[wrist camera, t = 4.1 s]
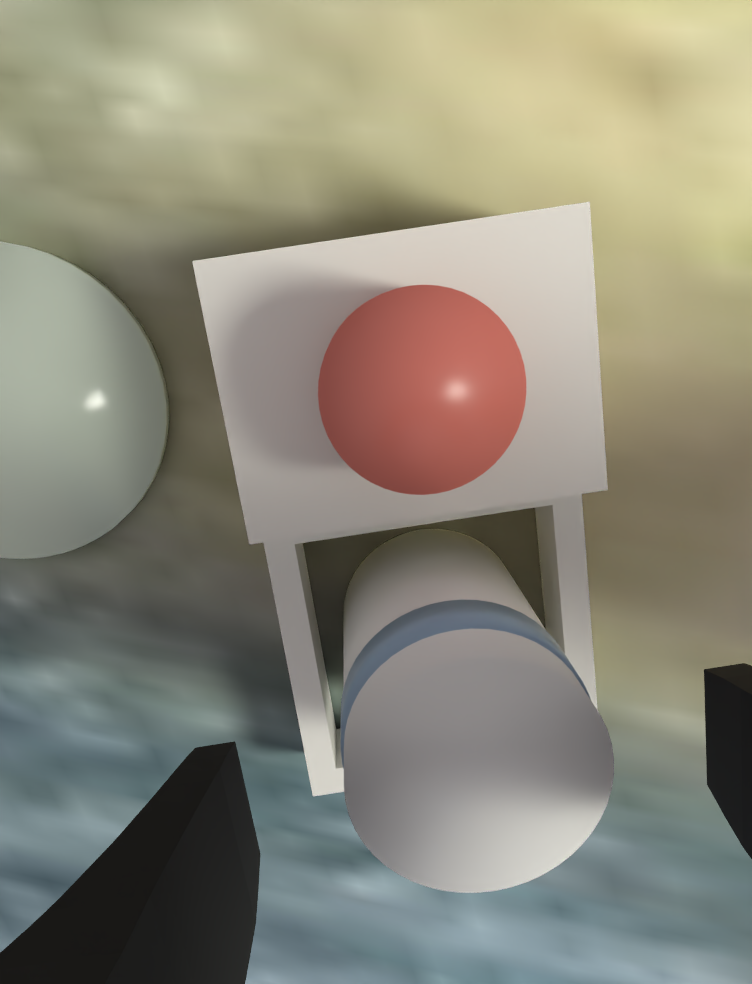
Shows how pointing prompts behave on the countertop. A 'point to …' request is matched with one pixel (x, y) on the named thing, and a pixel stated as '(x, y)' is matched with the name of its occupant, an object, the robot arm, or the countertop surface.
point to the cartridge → (463, 721)
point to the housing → (356, 501)
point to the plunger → (422, 389)
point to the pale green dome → (71, 406)
